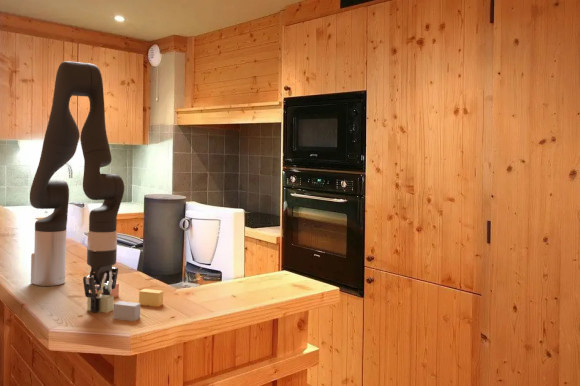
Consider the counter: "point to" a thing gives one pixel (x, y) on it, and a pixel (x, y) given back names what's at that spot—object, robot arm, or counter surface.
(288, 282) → the counter surface
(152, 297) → the mustard brick
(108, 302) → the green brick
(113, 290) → the terracotta brick
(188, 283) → the mounting bracket
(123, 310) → the slate brick
